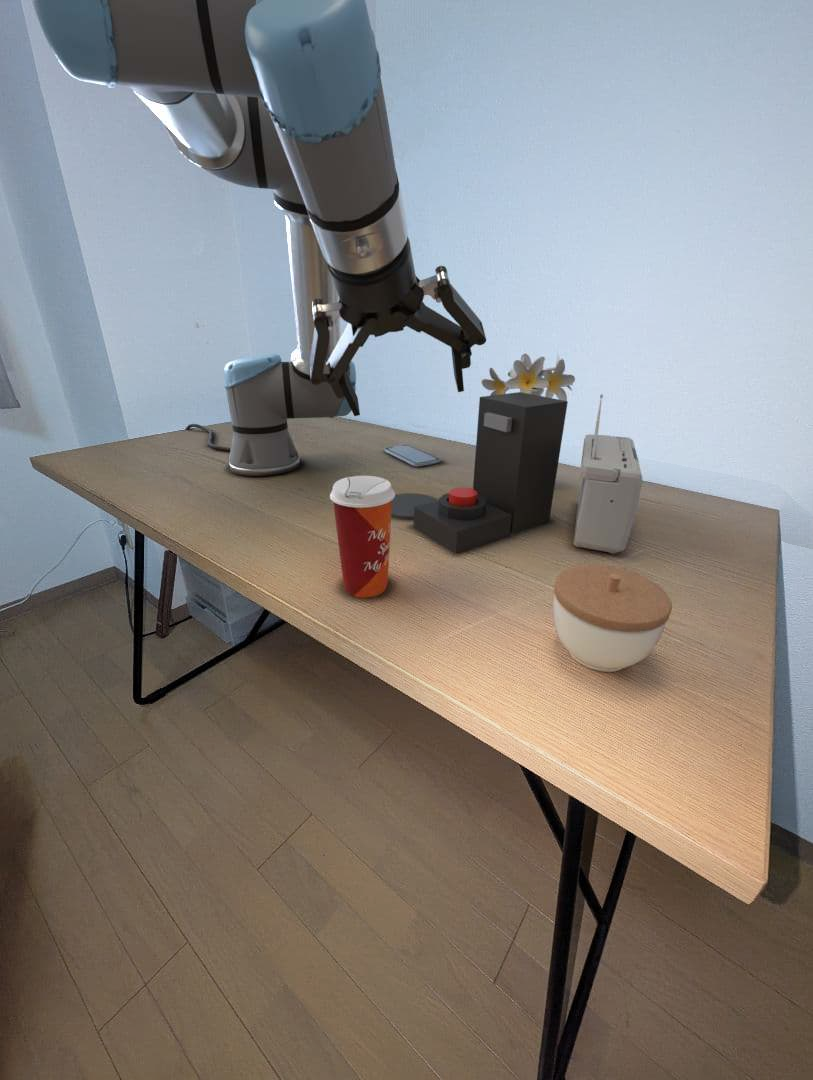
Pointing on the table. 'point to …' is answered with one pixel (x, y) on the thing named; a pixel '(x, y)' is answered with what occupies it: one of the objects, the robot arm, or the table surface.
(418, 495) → the coaster
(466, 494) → the coffee button
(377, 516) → the paper cup
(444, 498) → the base
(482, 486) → the tank
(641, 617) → the trinket box
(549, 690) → the table surface
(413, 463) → the smartphone
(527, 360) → the flower vase
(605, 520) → the radio
